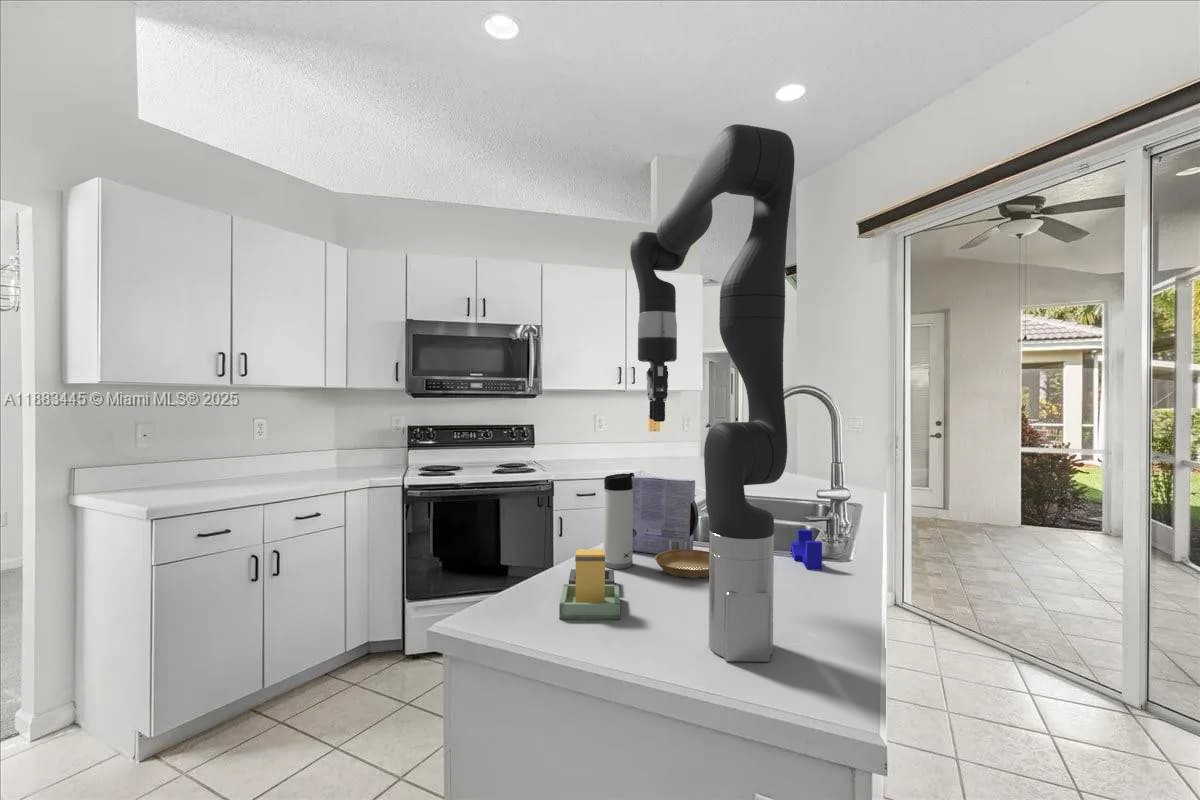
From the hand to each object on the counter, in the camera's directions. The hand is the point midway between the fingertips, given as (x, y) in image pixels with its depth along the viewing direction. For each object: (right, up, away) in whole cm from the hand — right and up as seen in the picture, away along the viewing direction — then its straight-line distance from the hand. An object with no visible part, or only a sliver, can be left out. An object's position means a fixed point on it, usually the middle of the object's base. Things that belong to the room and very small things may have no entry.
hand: (656, 420), depth 114 cm
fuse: (-13, -31, -12) cm, 36 cm away
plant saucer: (+8, -33, +10) cm, 35 cm away
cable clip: (+35, -32, +17) cm, 50 cm away
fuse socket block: (-13, -32, -1) cm, 35 cm away
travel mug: (-7, -32, +14) cm, 36 cm away
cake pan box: (+2, -32, +24) cm, 40 cm away
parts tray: (-13, -32, -12) cm, 37 cm away
